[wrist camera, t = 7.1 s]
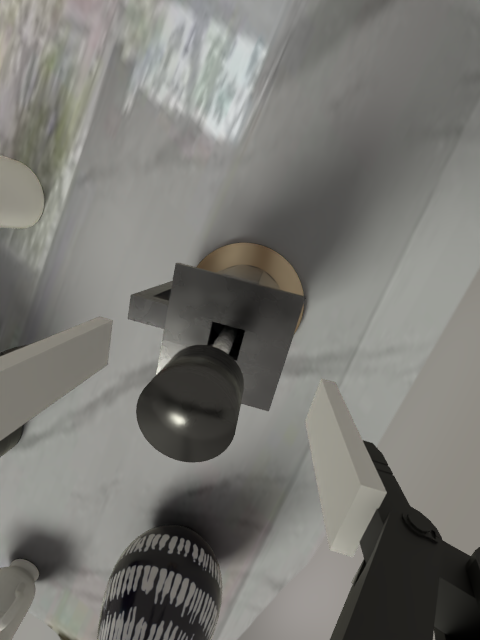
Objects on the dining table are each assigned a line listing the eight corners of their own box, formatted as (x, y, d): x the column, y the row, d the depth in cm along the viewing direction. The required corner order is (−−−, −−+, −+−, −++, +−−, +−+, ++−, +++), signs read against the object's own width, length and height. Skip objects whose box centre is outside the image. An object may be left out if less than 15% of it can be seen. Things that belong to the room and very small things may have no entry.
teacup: (77, 575, 50) (30, 654, 40) (29, 599, 53) (-25, 677, 44) (31, 531, 48) (-30, 602, 38) (-16, 559, 51) (-82, 630, 42)
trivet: (179, 339, 35) (176, 341, 34) (200, 229, 31) (198, 229, 30) (283, 369, 34) (284, 372, 33) (319, 260, 30) (320, 260, 29)
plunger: (202, 331, 30) (91, 464, 12) (216, 268, 28) (107, 308, 10) (264, 348, 30) (251, 514, 11) (282, 285, 28) (303, 363, 9)
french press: (171, 322, 33) (111, 367, 21) (185, 247, 31) (125, 248, 18) (270, 349, 33) (269, 412, 20) (292, 276, 30) (307, 296, 18)
